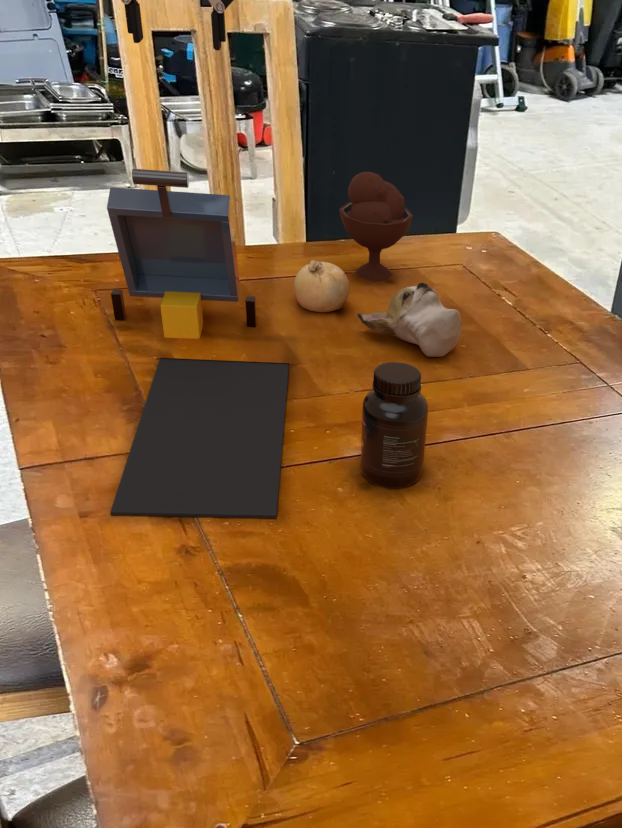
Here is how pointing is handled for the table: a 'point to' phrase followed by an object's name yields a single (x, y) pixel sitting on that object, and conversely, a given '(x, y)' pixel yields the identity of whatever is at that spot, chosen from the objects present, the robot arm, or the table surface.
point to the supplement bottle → (394, 427)
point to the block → (182, 315)
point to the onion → (321, 287)
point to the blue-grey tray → (174, 238)
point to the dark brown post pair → (121, 314)
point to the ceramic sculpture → (418, 320)
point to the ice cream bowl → (375, 220)
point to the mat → (207, 441)
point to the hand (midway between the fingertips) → (178, 44)
